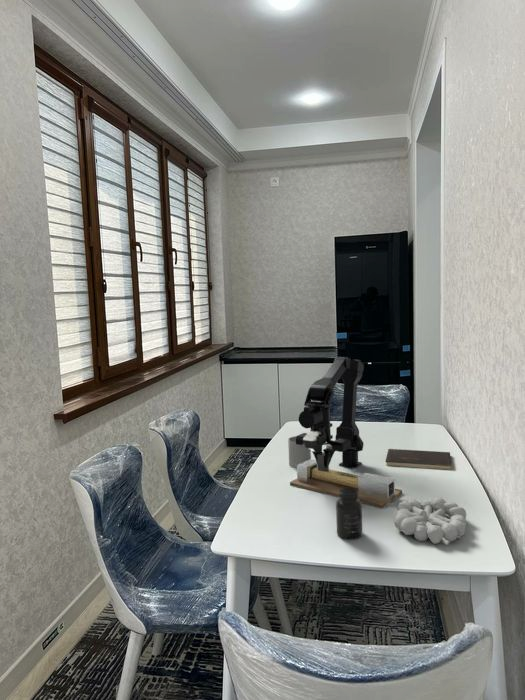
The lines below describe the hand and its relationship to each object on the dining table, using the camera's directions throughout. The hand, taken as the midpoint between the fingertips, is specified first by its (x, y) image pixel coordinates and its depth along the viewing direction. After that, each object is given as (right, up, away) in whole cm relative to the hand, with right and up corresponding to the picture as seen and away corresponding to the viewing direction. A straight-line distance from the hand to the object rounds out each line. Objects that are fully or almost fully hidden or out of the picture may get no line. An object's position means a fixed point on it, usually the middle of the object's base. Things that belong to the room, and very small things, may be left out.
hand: (323, 466), depth 171 cm
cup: (-6, -4, +21) cm, 22 cm away
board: (+6, -6, -4) cm, 10 cm away
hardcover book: (+39, -3, +21) cm, 44 cm away
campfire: (+25, -9, -34) cm, 43 cm away
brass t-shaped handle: (+4, -4, -3) cm, 6 cm away
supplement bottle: (+3, -10, -36) cm, 37 cm away
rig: (+7, -5, -5) cm, 10 cm away
